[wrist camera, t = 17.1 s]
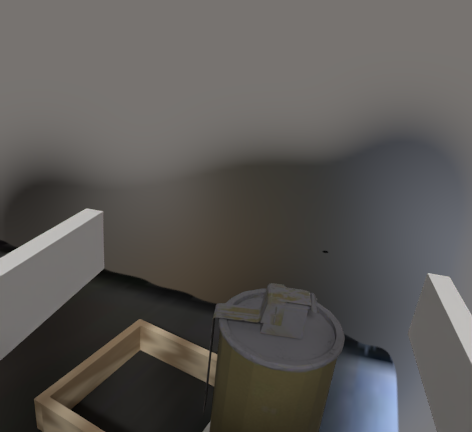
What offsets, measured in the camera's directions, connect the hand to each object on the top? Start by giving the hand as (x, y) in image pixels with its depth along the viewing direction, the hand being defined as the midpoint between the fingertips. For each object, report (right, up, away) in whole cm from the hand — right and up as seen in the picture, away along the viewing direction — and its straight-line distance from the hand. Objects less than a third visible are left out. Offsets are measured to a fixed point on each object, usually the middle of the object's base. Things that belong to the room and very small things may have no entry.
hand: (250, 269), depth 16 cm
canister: (+1, -23, +23) cm, 33 cm away
